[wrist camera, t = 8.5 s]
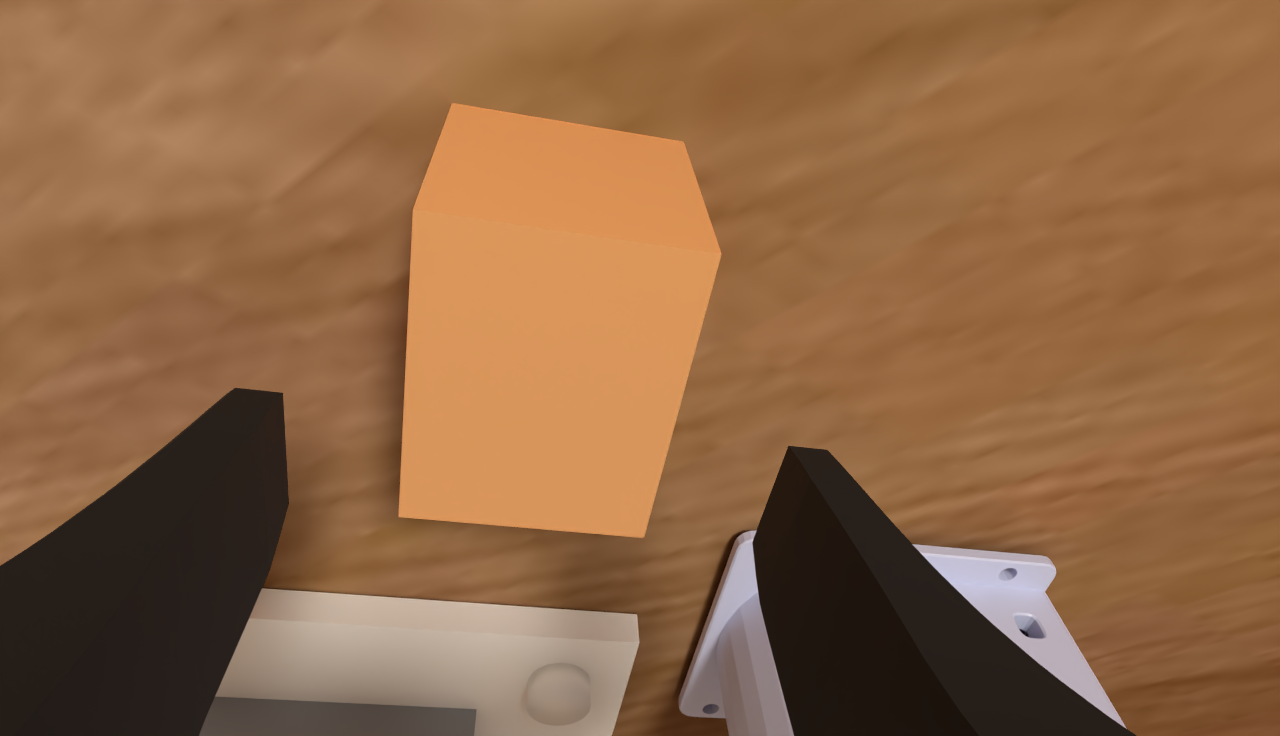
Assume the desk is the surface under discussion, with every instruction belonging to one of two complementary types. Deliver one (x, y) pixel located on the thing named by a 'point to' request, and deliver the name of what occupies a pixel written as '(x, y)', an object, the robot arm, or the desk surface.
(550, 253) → the orange brick
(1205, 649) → the desk surface
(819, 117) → the desk surface
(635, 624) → the baseplate
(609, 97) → the desk surface
